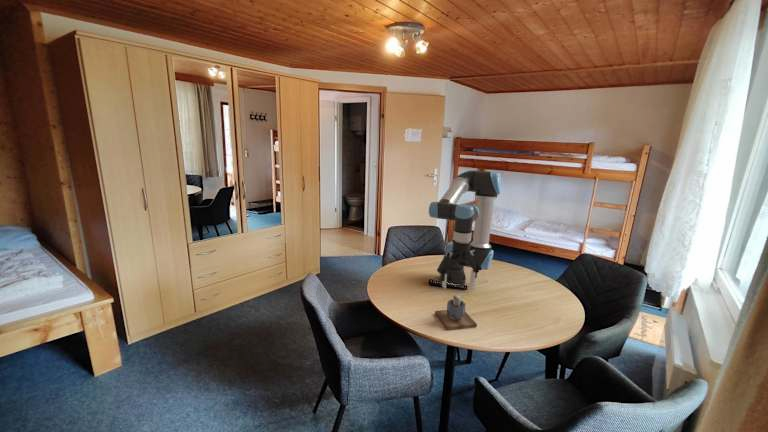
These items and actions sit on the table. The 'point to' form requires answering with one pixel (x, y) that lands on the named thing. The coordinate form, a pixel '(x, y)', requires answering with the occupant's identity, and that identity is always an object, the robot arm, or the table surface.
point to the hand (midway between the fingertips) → (458, 286)
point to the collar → (456, 309)
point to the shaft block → (453, 322)
